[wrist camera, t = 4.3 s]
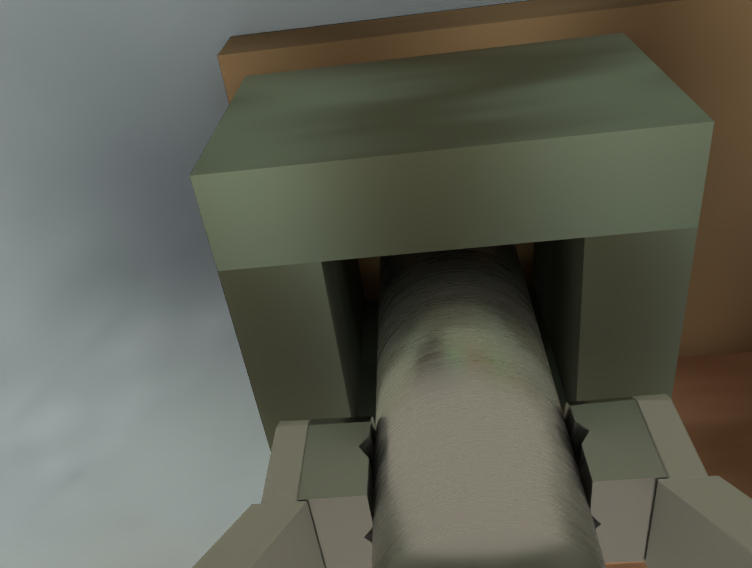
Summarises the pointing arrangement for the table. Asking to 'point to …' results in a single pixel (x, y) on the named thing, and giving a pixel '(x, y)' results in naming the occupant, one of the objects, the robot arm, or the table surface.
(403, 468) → the metal pin
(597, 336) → the dock board
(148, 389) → the table surface
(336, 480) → the robot arm
